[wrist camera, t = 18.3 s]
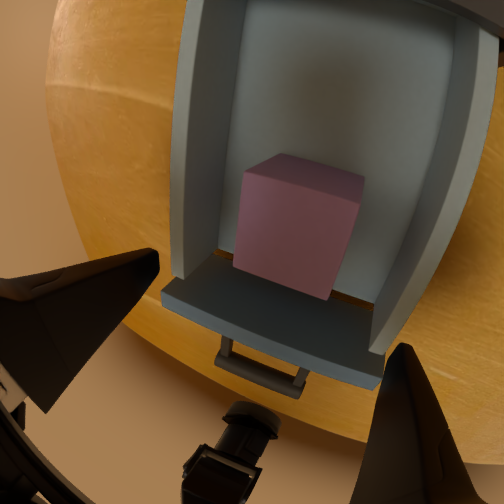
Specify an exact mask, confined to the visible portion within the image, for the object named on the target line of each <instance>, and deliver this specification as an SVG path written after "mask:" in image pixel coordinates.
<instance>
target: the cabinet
mask: <svg viewBox="0 0 504 504" xmlns="http://www.w3.org/2000/svg"><path fill="white" fill-rule="evenodd" d="M423 1H426V2H428V3H431V4H434V5H436V6H439V7H441V8H444V9H446V10H449V11H451V12H453V13H456V14H458V15H460V16H462V17H464V18H466V19H468V20H471V21H473V22H475V23H476V24H478V25H480V26H482V27H484V28H486V29H488V30H490V31H491V32H493V33H495V34H497V35H498V36H499V55H498V67H502V66H504V0H423Z"/></svg>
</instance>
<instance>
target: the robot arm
mask: <svg viewBox="0 0 504 504" xmlns="http://www.w3.org/2000/svg"><path fill="white" fill-rule="evenodd" d="M159 270H160V265H159V253H158V251H156V250H154V249H152V248H144V249H139V250H135V251H131V252H126V253H122V254H118V255H114V256H109V257H105V258H101V259H97V260H93V261H89V262H85V263H81V264H76V265H73V266H69V267H66V268H65V267H64V268H60V269H56V270H52V271H48V272H43V273H38V274H33V275H28V276H22V277H17V278H11V279H4V278H0V504H47V503H46V502H45V501H44V500H43V499H41V498H40V497H39V496H37V495H36V493H37V492H38V491H39V492H40V493H41V494H42V495H43V496H44V497H45V498H46V499H47V500H48V501H49V502H50V503H51V504H95V503H94V502H93V501H92V500H90V499H89V498H88V497H87V496H85V495H84V494H83V493H82V492H81V491H80V490H78V489H77V488H76V487H75V486H74V485H73V484H72V483H71V482H70V481H68V480H67V479H66V478H65V477H64V476H63V475H62V474H61V473H60V472H59V471H58V470H57V469H56V468H55V467H54V466H53V465H52V464H51V463H50V462H49V461H48V460H47V459H46V458H45V456H43V454H42V453H41V452H40V451H39V450H38V449H37V448H36V446H35V445H34V444H33V443H32V442H31V440H30V439H29V438H28V437H27V436H26V435H25V433H24V432H23V431H24V429H25V408H26V404H25V402H24V401H23V400H24V399H25V398H26V397H27V396H29V397H30V399H31V400H32V401H33V402H34V403H35V404H36V405H37V406H38V407H39V408H40V409H41V410H42V411H43V412H44V413H45V414H46V413H47V412H48V411H49V410H50V409H51V407H52V406H53V405H54V403H55V402H56V401H57V399H58V398H59V397H60V395H61V394H62V393H63V392H64V390H65V389H66V388H67V387H68V385H69V384H70V383H71V381H72V380H73V379H74V377H75V376H76V375H77V374H78V372H79V371H80V370H81V369H82V368H83V366H84V365H85V364H86V363H87V361H88V360H89V359H90V358H91V356H92V355H93V354H94V353H95V352H96V350H97V349H98V348H99V347H100V346H101V344H102V343H103V342H104V341H105V340H106V338H107V337H108V336H109V335H110V334H111V333H112V331H113V330H114V329H115V328H116V327H117V326H118V324H119V323H120V322H121V321H122V320H123V319H124V318H125V316H126V315H127V314H128V313H129V312H130V311H131V310H132V308H133V307H134V306H135V305H136V304H137V303H138V301H139V300H140V299H141V297H142V296H143V294H144V293H145V292H146V290H147V289H148V287H149V286H150V285H151V283H152V282H153V281H154V279H155V278H156V277H157V275H158V273H159ZM222 420H223V421H225V422H226V423H227V424H228V426H227V428H226V429H225V431H224V433H223V434H222V436H221V438H220V439H219V441H218V443H217V444H216V446H215V448H212V447H209V446H208V445H207V444H204V445H200V446H199V447H198V449H197V450H196V452H195V453H194V454H193V455H192V457H190V459H189V460H188V461H187V462H186V463H185V464H184V465H183V469H184V472H183V476H182V478H184V480H183V482H182V486H181V504H245V502H246V501H247V499H248V498H249V496H250V494H251V492H252V490H253V488H254V486H255V484H256V482H257V480H258V478H259V476H260V474H261V471H262V468H258V467H255V465H256V463H257V461H258V459H259V457H261V456H262V454H263V452H264V449H265V447H266V446H267V443H268V441H269V440H277V439H278V436H277V435H276V434H275V433H273V432H272V431H271V430H269V429H268V428H267V427H265V426H264V425H263V424H262V423H260V422H259V421H258V420H256V419H255V418H254V417H253V416H251V415H248V414H247V415H234V416H223V417H222ZM448 428H449V426H448V424H447V421H446V419H445V417H444V414H443V412H442V409H441V407H440V405H439V402H438V400H437V398H436V395H435V393H434V391H433V389H432V386H431V384H430V382H429V380H428V378H427V376H426V374H425V371H424V369H423V367H422V365H421V363H420V361H419V359H418V357H417V355H416V353H415V351H414V349H413V347H412V346H411V345H409V344H406V343H403V342H401V343H399V344H398V346H397V347H396V348H395V350H394V351H393V353H392V354H391V355H390V357H389V358H388V360H387V363H386V367H385V371H384V375H383V379H382V382H381V386H380V389H379V393H378V396H377V400H376V404H375V409H374V414H373V419H372V424H371V429H370V433H369V437H368V442H367V446H366V450H365V454H364V458H363V461H362V465H361V468H360V472H359V475H358V479H357V482H356V485H355V488H354V491H353V494H352V497H351V500H350V503H349V504H488V503H486V502H484V501H483V500H482V499H481V498H480V497H479V496H478V494H477V493H476V491H475V489H474V487H473V484H472V482H471V479H470V477H469V475H468V472H467V470H466V468H465V466H464V463H463V461H462V459H461V456H460V454H459V452H458V449H457V447H456V444H455V442H454V439H453V437H452V434H451V431H450V429H448ZM249 475H250V476H252V478H250V477H249Z"/></svg>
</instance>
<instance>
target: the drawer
mask: <svg viewBox="0 0 504 504" xmlns="http://www.w3.org/2000/svg"><path fill="white" fill-rule="evenodd" d="M498 55H499V36H498V35H497V34H495V33H493V32H491V31H490V30H488V29H486V28H484V27H482V26H480V25H478V24H476V23H475V22H473V21H471V20H468V19H466V18H464V17H462V16H460V15H458V14H456V13H453V12H451V11H449V10H446V9H444V8H441V7H439V6H436V5H434V4H431V3H428V2H426V1H423V0H187V5H186V11H185V17H184V23H183V29H182V36H181V42H180V50H179V57H178V66H177V75H176V84H175V95H174V107H173V121H172V138H171V161H170V246H171V270H172V275H174V276H176V277H175V278H174V279H173V280H172V281H171V282H170V283H169V284H168V285H166V286H165V287H164V288H163V289H162V290H161V300H162V306H163V307H165V308H167V309H169V310H171V311H173V312H175V313H177V314H179V315H181V316H183V317H185V318H187V319H189V320H191V321H193V322H195V323H197V324H199V325H202V326H204V327H206V328H208V329H210V330H212V331H214V332H217V333H219V334H221V335H222V339H221V349H220V350H219V352H218V353H217V355H216V358H215V361H214V364H215V366H218V367H220V368H222V369H224V370H226V371H228V372H231V373H233V374H235V375H237V376H239V377H242V378H244V379H246V380H249V381H251V382H253V383H256V384H258V385H261V386H263V387H265V388H268V389H270V390H273V391H275V392H278V393H281V394H283V395H286V396H289V397H291V398H294V399H299V398H300V396H301V394H302V392H303V389H304V387H305V384H306V381H305V379H306V378H307V376H308V374H309V372H310V371H313V372H316V373H319V374H321V375H324V376H327V377H330V378H333V379H336V380H339V381H342V382H345V383H349V384H352V385H355V386H358V387H361V388H365V389H368V390H373V389H374V388H375V387H376V386H377V385H378V384H379V383H380V381H381V380H382V379H383V373H384V363H385V353H386V351H387V349H388V348H389V346H390V345H391V344H392V342H393V341H394V339H395V338H396V336H397V335H398V333H399V332H400V330H401V329H402V327H403V326H404V324H405V322H406V321H407V319H408V318H409V316H410V315H411V313H412V311H413V310H414V308H415V306H416V305H417V303H418V301H419V300H420V298H421V296H422V294H423V293H424V291H425V289H426V287H427V285H428V284H429V282H430V280H431V278H432V276H433V274H434V272H435V271H436V269H437V267H438V265H439V263H440V261H441V259H442V257H443V255H444V253H445V250H446V248H447V246H448V244H449V242H450V240H451V237H452V235H453V233H454V231H455V228H456V226H457V224H458V221H459V219H460V216H461V214H462V211H463V209H464V206H465V203H466V201H467V198H468V195H469V193H470V190H471V187H472V184H473V181H474V178H475V175H476V172H477V168H478V165H479V162H480V158H481V155H482V151H483V147H484V143H485V139H486V135H487V131H488V126H489V122H490V117H491V112H492V106H493V100H494V94H495V87H496V78H497V69H498ZM280 153H282V154H287V155H291V156H295V157H299V158H302V159H306V160H310V161H314V162H317V163H321V164H324V165H328V166H331V167H335V168H338V169H342V170H345V171H348V172H351V173H354V174H358V175H361V176H364V178H365V179H364V186H363V193H362V200H361V206H360V210H359V213H358V216H357V219H356V222H355V225H354V228H353V232H352V235H351V238H350V241H349V243H348V246H347V249H346V252H345V255H344V258H343V261H342V263H341V266H340V269H339V272H338V274H337V277H336V280H335V282H334V285H333V288H332V289H333V290H336V291H339V292H342V293H345V294H347V295H350V296H353V297H356V298H359V299H362V300H365V301H367V302H370V303H373V304H374V309H373V311H370V310H368V309H365V308H362V307H359V306H356V305H353V304H350V303H347V302H345V301H342V300H339V299H336V298H333V297H330V296H329V298H328V300H323V299H320V298H317V297H315V296H312V295H309V294H306V293H303V292H301V291H298V290H295V289H292V288H289V287H287V286H284V285H281V284H278V283H276V282H273V281H270V280H268V279H265V278H262V277H259V276H257V275H254V274H251V273H249V272H246V271H243V270H241V269H238V268H235V267H233V261H231V260H229V259H226V258H223V257H220V256H218V255H215V254H212V253H213V252H214V251H215V250H216V249H217V248H219V249H221V250H224V251H227V252H230V253H233V254H234V249H235V240H236V231H237V222H238V214H239V205H240V197H241V189H242V181H243V173H244V171H245V170H247V169H249V168H251V167H253V166H255V165H257V164H259V163H261V162H263V161H265V160H267V159H269V158H271V157H273V156H276V155H278V154H280ZM233 340H235V341H237V342H239V343H242V344H244V345H246V346H249V347H251V348H253V349H256V350H258V351H261V352H263V353H266V354H268V355H270V356H273V357H276V358H278V359H281V360H283V361H286V362H288V363H291V364H294V365H296V366H299V367H300V368H299V370H298V372H297V374H296V376H292V375H290V374H287V373H284V372H282V371H279V370H277V369H274V368H272V367H269V366H267V365H264V364H262V363H259V362H257V361H254V360H252V359H250V358H247V357H245V356H243V355H240V354H238V353H236V352H234V351H232V346H233Z"/></svg>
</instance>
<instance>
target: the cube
mask: <svg viewBox="0 0 504 504" xmlns="http://www.w3.org/2000/svg"><path fill="white" fill-rule="evenodd" d="M364 179H365V178H364V176H361V175H358V174H354V173H351V172H348V171H345V170H342V169H338V168H335V167H331V166H328V165H324V164H321V163H317V162H314V161H310V160H306V159H302V158H299V157H295V156H291V155H287V154H282V153H280V154H278V155H276V156H273V157H271V158H269V159H267V160H265V161H263V162H261V163H259V164H257V165H255V166H253V167H251V168H249V169H247V170H245V171H244V173H243V181H242V189H241V197H240V205H239V214H238V222H237V231H236V240H235V249H234V258H233V267H235V268H238V269H241V270H243V271H246V272H249V273H251V274H254V275H257V276H259V277H262V278H265V279H268V280H270V281H273V282H276V283H278V284H281V285H284V286H287V287H289V288H292V289H295V290H298V291H301V292H303V293H306V294H309V295H312V296H315V297H317V298H320V299H323V300H328V298H329V295H330V293H331V290H332V288H333V285H334V282H335V280H336V277H337V274H338V272H339V269H340V266H341V263H342V261H343V258H344V255H345V252H346V249H347V246H348V243H349V241H350V238H351V235H352V232H353V228H354V225H355V222H356V219H357V216H358V213H359V210H360V206H361V200H362V193H363V186H364Z"/></svg>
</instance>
